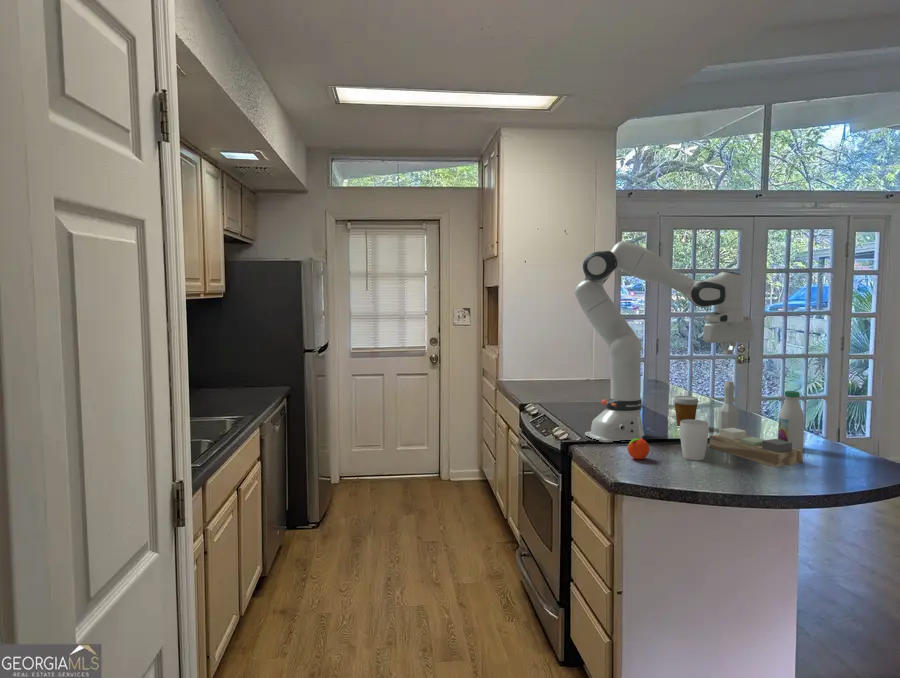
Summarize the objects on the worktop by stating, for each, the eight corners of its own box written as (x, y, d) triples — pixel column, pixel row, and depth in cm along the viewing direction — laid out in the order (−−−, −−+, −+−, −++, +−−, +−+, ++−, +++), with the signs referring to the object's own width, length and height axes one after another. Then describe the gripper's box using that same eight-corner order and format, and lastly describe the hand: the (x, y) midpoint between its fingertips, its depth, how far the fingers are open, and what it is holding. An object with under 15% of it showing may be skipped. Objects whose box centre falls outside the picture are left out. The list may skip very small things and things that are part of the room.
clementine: (635, 463, 198) (636, 441, 198) (620, 458, 204) (620, 437, 204) (653, 460, 202) (654, 438, 201) (638, 455, 208) (638, 434, 208)
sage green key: (754, 454, 203) (754, 442, 203) (739, 450, 209) (740, 438, 208) (767, 452, 205) (768, 440, 205) (753, 448, 211) (753, 436, 210)
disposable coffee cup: (701, 429, 244) (702, 399, 244) (677, 429, 245) (678, 399, 244) (692, 424, 254) (693, 395, 253) (669, 424, 254) (670, 395, 253)
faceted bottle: (728, 438, 230) (730, 379, 229) (741, 442, 224) (743, 382, 223) (714, 439, 228) (716, 380, 227) (727, 443, 222) (728, 383, 221)
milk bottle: (802, 447, 216) (803, 390, 215) (804, 452, 209) (806, 394, 208) (777, 444, 220) (778, 389, 218) (778, 450, 213) (780, 392, 211)
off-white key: (732, 444, 211) (733, 432, 211) (719, 440, 217) (719, 429, 217) (746, 442, 213) (746, 431, 213) (732, 438, 219) (732, 427, 219)
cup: (707, 455, 207) (708, 420, 206) (709, 462, 198) (710, 425, 197) (678, 453, 210) (679, 418, 209) (679, 460, 201) (679, 424, 200)
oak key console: (774, 467, 192) (775, 454, 192) (709, 447, 217) (709, 436, 217) (802, 463, 197) (802, 450, 196) (735, 443, 222) (735, 432, 221)
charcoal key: (777, 457, 195) (778, 444, 194) (762, 452, 200) (762, 440, 200) (791, 455, 197) (792, 442, 196) (775, 450, 202) (776, 438, 202)
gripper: (745, 315, 229) (743, 352, 230) (701, 316, 222) (699, 354, 223) (758, 316, 223) (757, 354, 224) (714, 317, 216) (712, 356, 217)
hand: (728, 354), depth 224 cm, fingers closed
